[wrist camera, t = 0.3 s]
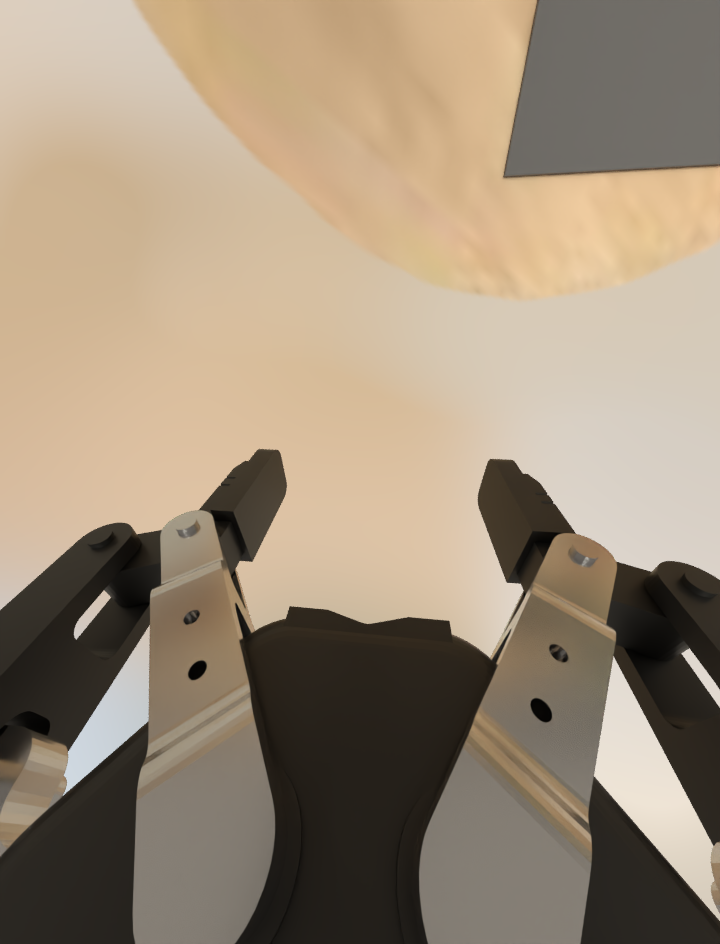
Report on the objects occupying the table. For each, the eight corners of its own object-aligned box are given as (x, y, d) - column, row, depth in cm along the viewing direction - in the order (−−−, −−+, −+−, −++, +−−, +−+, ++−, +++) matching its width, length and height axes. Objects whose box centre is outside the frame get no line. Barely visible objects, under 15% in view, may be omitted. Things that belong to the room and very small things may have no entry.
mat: (552, -78, 19) (555, -84, 18) (863, -120, 17) (872, -128, 17) (503, 177, 25) (504, 175, 25) (721, 164, 24) (725, 163, 23)
